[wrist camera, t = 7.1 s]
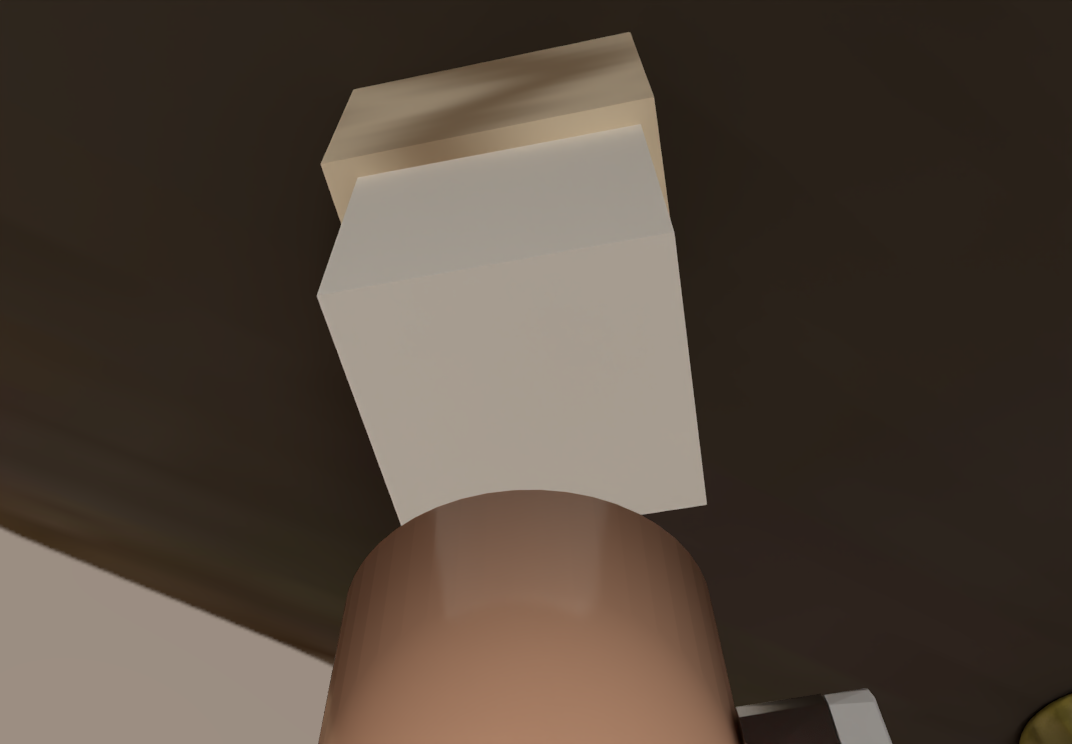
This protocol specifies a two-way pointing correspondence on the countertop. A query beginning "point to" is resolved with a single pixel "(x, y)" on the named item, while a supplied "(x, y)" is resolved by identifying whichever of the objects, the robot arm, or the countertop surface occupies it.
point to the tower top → (519, 327)
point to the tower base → (492, 111)
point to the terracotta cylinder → (529, 631)
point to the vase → (1050, 724)
